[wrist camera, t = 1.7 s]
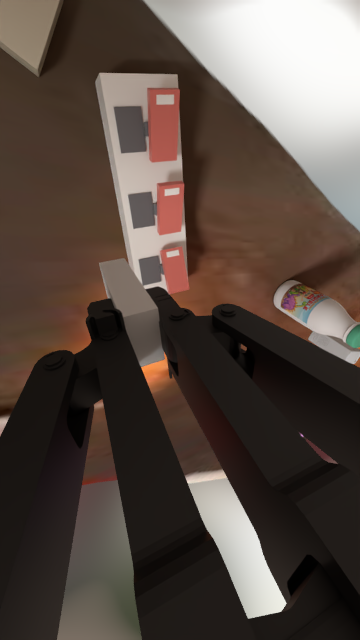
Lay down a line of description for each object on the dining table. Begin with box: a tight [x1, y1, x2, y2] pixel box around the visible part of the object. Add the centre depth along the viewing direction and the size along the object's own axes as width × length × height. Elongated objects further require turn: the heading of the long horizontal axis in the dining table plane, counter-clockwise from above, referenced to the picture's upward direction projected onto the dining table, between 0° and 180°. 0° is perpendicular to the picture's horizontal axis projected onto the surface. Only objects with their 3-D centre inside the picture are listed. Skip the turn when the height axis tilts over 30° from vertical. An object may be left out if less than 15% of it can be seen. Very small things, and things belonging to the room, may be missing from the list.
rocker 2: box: [157, 181, 184, 235], centre depth 34 cm, size 3×7×1 cm, turn 4°
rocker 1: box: [147, 88, 180, 163], centre depth 29 cm, size 3×7×1 cm, turn 4°
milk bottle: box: [274, 280, 360, 348], centre depth 53 cm, size 8×8×20 cm
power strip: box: [95, 73, 188, 292], centre depth 39 cm, size 9×35×5 cm, turn 4°
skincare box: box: [308, 331, 360, 364], centre depth 71 cm, size 6×4×12 cm
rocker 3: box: [160, 246, 189, 294], centre depth 39 cm, size 3×7×1 cm, turn 4°
